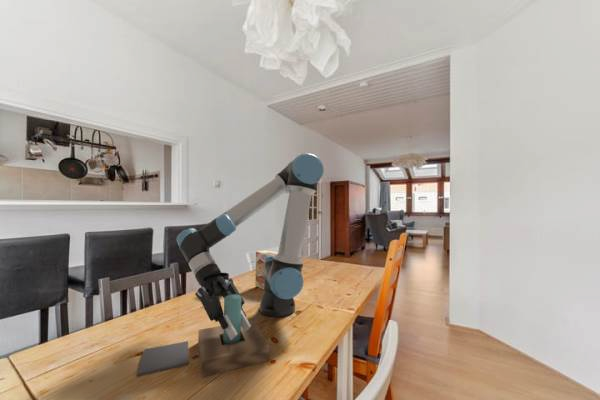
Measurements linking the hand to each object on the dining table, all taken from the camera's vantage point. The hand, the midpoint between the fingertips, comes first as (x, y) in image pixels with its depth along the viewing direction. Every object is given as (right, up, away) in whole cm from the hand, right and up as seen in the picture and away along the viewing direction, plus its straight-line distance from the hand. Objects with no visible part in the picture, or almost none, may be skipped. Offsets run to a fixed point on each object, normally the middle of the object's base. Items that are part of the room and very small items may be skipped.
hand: (241, 332), depth 74 cm
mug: (-23, -8, +52) cm, 57 cm away
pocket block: (-3, -6, +2) cm, 7 cm away
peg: (-3, -6, +2) cm, 7 cm away
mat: (-21, -6, -2) cm, 22 cm away
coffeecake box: (+1, -9, +61) cm, 61 cm away
